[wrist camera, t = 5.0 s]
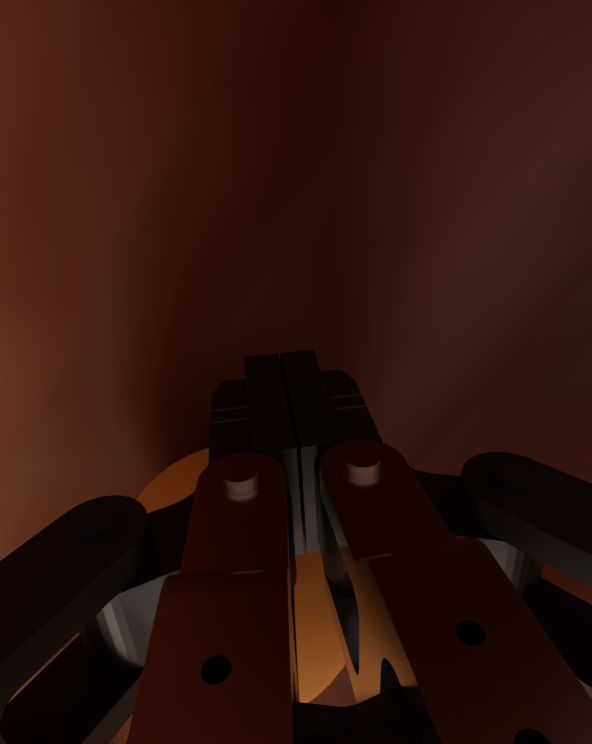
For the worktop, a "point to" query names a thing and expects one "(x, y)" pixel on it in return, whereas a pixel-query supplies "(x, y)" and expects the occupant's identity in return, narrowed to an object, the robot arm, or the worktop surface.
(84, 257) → the worktop surface
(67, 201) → the worktop surface
